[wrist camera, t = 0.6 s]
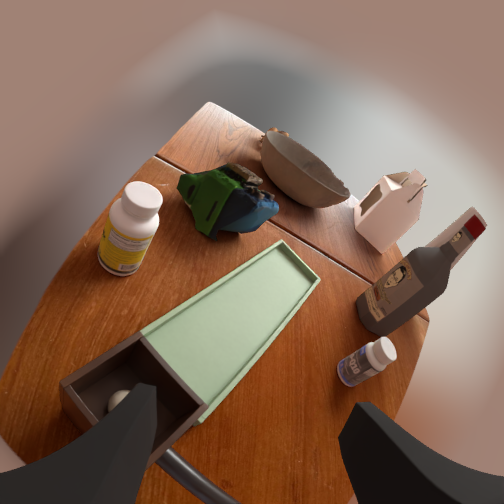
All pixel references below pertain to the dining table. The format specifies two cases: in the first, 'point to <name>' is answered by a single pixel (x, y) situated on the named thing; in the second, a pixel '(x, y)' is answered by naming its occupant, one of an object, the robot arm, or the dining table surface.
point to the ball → (116, 398)
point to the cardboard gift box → (390, 209)
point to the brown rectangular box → (167, 401)
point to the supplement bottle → (129, 228)
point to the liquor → (413, 282)
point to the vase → (453, 229)
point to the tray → (232, 322)
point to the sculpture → (227, 200)
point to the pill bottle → (366, 362)
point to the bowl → (300, 172)
